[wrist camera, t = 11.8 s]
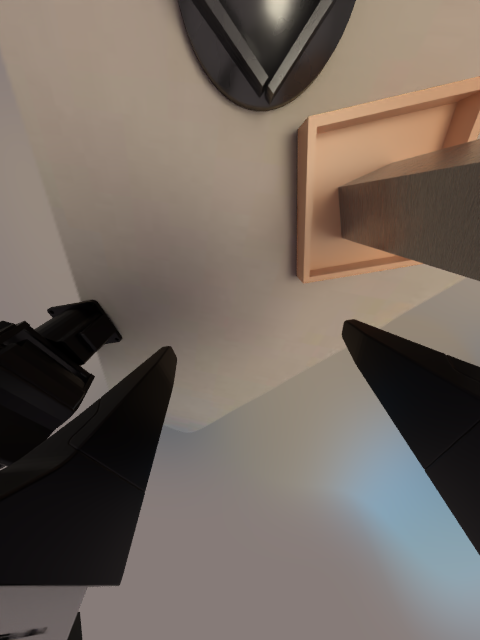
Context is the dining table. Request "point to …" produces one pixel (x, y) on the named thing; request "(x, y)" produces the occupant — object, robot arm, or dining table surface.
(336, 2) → the socket cup
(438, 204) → the strut
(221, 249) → the dining table surface
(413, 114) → the tray
